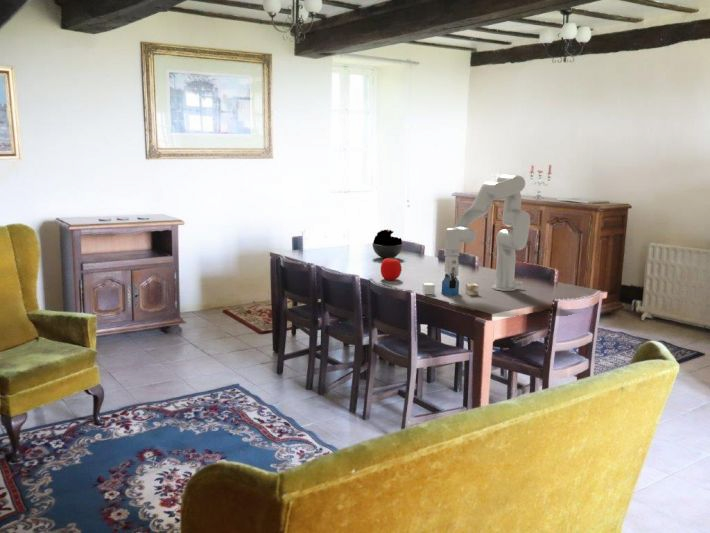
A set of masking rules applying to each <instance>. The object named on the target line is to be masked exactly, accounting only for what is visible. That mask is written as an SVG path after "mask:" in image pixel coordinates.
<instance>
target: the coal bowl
mask: <svg viewBox="0 0 710 533" xmlns="http://www.w3.org/2000/svg"><path fill="white" fill-rule="evenodd" d="M392 234H394V230H392V229H390V230H389V229H383V230H382V229H381V230H379V231H378V232H377V233H376V235H375V236H374V239H373V242H372V243H371V244H372V248H373V251H374V253H375V254H376V255H377V256H378V257H379V258H381V259H383V260H384V259H387V258H390V257H391V258H393V259H395V258H396V257H397V256H399V254H400V253H401V252H402V250H403V247H404V244H403V239H402V238H401V237H397V236H392Z"/></svg>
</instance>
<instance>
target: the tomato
mask: <svg viewBox="0 0 710 533" xmlns="http://www.w3.org/2000/svg"><path fill="white" fill-rule="evenodd" d="M380 273H381V277H382V278H383V279H385V280H386V281H394V280H396V279H398V278H399V277H400V275H401V273H402V264H401V262H400V261H399V260H398V259H397V258H391V257H390V258H387V259H384V258H383V260H382V262H381V264H380Z"/></svg>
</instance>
